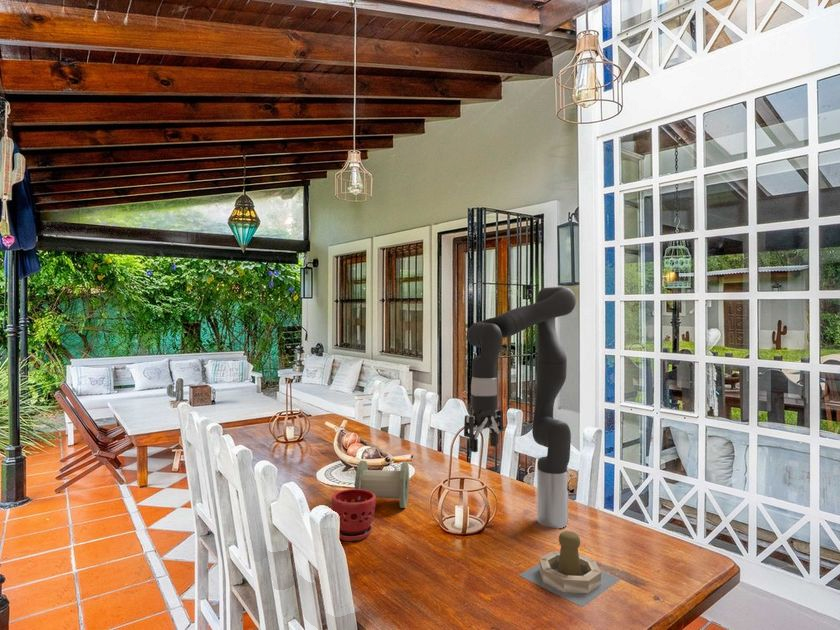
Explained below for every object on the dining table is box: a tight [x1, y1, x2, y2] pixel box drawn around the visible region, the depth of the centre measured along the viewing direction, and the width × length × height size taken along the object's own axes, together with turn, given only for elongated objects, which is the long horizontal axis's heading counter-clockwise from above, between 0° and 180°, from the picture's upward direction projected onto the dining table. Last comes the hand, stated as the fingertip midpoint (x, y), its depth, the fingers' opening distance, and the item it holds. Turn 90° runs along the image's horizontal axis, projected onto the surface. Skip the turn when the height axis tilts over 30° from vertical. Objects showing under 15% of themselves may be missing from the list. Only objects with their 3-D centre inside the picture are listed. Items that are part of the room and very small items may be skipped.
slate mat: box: [518, 563, 621, 608], centre depth 126 cm, size 18×18×1 cm
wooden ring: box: [538, 551, 602, 593], centre depth 126 cm, size 14×14×3 cm
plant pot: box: [331, 488, 377, 542], centre depth 151 cm, size 13×13×12 cm
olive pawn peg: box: [557, 530, 581, 576], centre depth 126 cm, size 6×6×11 cm
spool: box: [354, 460, 410, 509], centre depth 173 cm, size 16×15×15 cm
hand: (484, 448), depth 143 cm, fingers open, 8 cm apart
